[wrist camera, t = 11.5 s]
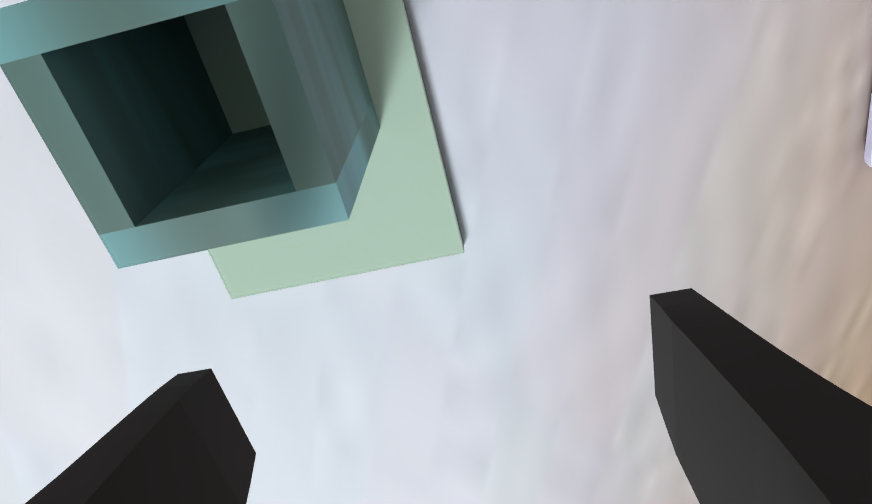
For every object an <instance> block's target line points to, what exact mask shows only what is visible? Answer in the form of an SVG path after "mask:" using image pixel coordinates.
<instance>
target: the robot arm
mask: <svg viewBox="0 0 872 504" xmlns="http://www.w3.org/2000/svg"><path fill="white" fill-rule="evenodd" d="M864 158H865V162H866V163H867V164H868V166H870V167H872V95H871V103H870V112H869V120H868V128H867V136H866V145H865V153H864ZM650 309H651V326H652V344H653V362H654V379H655V395H656V398H657V401H658V404H659V407H660V410H661V413H662V416H663V419H664V422H665V425H666V428H667V430H668V433H669V436H670V439H671V441H672V444H673V447H674V450H675V453H676V455H677V457H678V459H679V462H680V464H681V466H682V468H683V470H684V472H685V474H686V476H687V478H688V480H689V482H690V484H691V486H692V489H693V491H694V493H695V495H696V497H697V499H698V501H699V503H700V504H872V406H870V405H868V404H866V403H865V402H863V401H861V400H860V399H858V398H856V397H854V396H853V395H851V394H849V393H848V392H846V391H844V390H842V389H841V388H839V387H837V386H836V385H834V384H833V383H831V382H829V381H828V380H826V379H824V378H823V377H821V376H820V375H818V374H816V373H815V372H813V371H812V370H810V369H809V368H807V367H805V366H804V365H802V364H801V363H799V362H798V361H796V360H795V359H793V358H792V357H790V356H789V355H787V354H785V353H784V352H782V351H781V350H779V349H778V348H776V347H775V346H773V345H772V344H770V343H769V342H768V341H766V340H765V339H763V338H762V337H760V336H759V335H757V334H756V333H754V332H753V331H752V330H750V329H749V328H747V327H746V326H744V325H743V324H741V323H740V322H739V321H737V320H736V319H734V318H733V317H732V316H730V315H729V314H727V313H726V312H724V311H723V310H722V309H720V308H719V307H717V306H716V305H714V304H713V303H712V302H710V301H709V300H707V299H706V298H705V297H703V296H702V295H700V294H699V293H697V292H696V291H694V290H693V289H692V288H690V289H684V290H678V291H672V292H666V293H660V294H654V295H650ZM255 456H256V452H255V451H254V449H253V447H252V445H251V443H250V441H249V439H248V437H247V435H246V434H245V432H244V430H243V428H242V426H241V424H240V422H239V420H238V418H237V417H236V415H235V413H234V411H233V409H232V407H231V405H230V403H229V401H228V400H227V398H226V396H225V394H224V392H223V390H222V388H221V386H220V384H219V383H218V381H217V379H216V377H215V375H214V373H213V371H212V369H206V370H200V371H194V372H188V373H182V374H177V375H176V376H175V377H173V378H172V379H171V380H169V381H168V382H167V383H165V384H164V385H163V386H162V387H160V388H159V389H158V390H157V391H155V392H154V393H153V394H152V395H151V396H149V397H148V398H147V399H146V400H145V401H143V402H142V403H141V404H140V405H139V406H138V407H136V408H135V409H134V410H133V411H132V412H131V413H130V414H128V415H127V416H126V417H125V418H124V419H123V420H122V421H120V422H119V423H118V424H117V425H116V426H115V427H114V428H112V429H111V430H110V431H109V432H108V433H107V434H106V435H104V436H103V437H102V438H101V439H100V440H99V441H98V442H96V443H95V444H94V445H93V446H92V447H91V448H90V449H89V450H87V451H86V452H85V453H84V454H83V455H82V456H81V457H79V458H78V459H77V460H76V461H75V462H74V463H73V464H71V465H70V466H69V467H68V468H67V469H66V470H65V471H63V472H62V473H61V474H60V475H59V476H58V477H56V478H55V479H54V480H53V481H52V482H50V483H49V484H48V485H47V486H46V487H44V488H43V489H42V490H41V491H40V492H38V493H37V494H36V495H35V496H34V497H32V498H31V499H30V500H29V501H28V502H26V503H25V504H246V502H247V497H248V493H249V488H250V483H251V478H252V472H253V467H254V461H255Z"/></svg>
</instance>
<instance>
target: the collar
mask: <svg viewBox="0 0 872 504" xmlns="http://www.w3.org/2000/svg"><path fill="white" fill-rule="evenodd" d="M224 4H225V7H226V10H227V12H228V15H229V17H230V20H231V23H232V25H233V28H234V30H235V33H236V36H237V38H238V41H239V43H240V46H241V49H242V51H243V54H244V57H245V59H246V62H247V64H248V67H249V70H250V72H251V75H252V77H253V80H254V83H255V85H256V88H257V90H258V93H259V96H260V98H261V101H262V103H263V106H264V109H265V111H266V114H267V117H268V119H269V122H270V124H271V125H268V126H263V127H259V128H255V129H251V130H247V131H242V132H238V133H234V134H233V133H232V131H231V128H230V126H229V124H228V121H227V119H226V116H225V114H224V112H223V109H222V107H221V104H220V102H219V100H218V97H217V95H216V93H215V90H214V88H213V85H212V83H211V81H210V78H209V76H208V73H207V71H206V69H205V66H204V64H203V61H202V59H201V57H200V54H199V52H198V50H197V47H196V45H195V42H194V40H193V38H192V35H191V33H190V30H189V28H188V26H187V23H186V21H185V18H184V16H183V15H186V14H190V13H194V12H198V11H201V10H205V9H209V8H212V7H216V6H220V5H224ZM0 67H1V68H2V70H3V72H4V74H5V75H6V77H7V79H8V80H9V82H10V84H11V86H12V87H13V89H14V91H15V92H16V94H17V96H18V98H19V99H20V101H21V103H22V104H23V106H24V108H25V110H26V111H27V113H28V115H29V116H30V118H31V120H32V122H33V123H34V125H35V127H36V128H37V130H38V132H39V134H40V135H41V137H42V139H43V140H44V142H45V144H46V146H47V147H48V149H49V151H50V152H51V154H52V156H53V158H54V159H55V161H56V163H57V164H58V166H59V168H60V170H61V171H62V173H63V175H64V176H65V178H66V180H67V182H68V183H69V185H70V187H71V188H72V190H73V192H74V194H75V195H76V197H77V199H78V200H79V202H80V204H81V206H82V207H83V209H84V211H85V212H86V214H87V216H88V218H89V219H90V221H91V223H92V224H93V226H94V228H95V230H96V231H97V233H98V235H99V236H100V238H101V240H102V242H103V243H104V245H105V247H106V248H107V250H108V252H109V254H110V255H111V257H112V259H113V260H114V262H115V264H116V266H117V267H118V269H119V268H124V267H128V266H133V265H138V264H143V263H147V262H152V261H157V260H162V259H166V258H171V257H176V256H180V255H185V254H190V253H195V252H199V251H204V250H209V249H214V248H218V247H223V246H228V245H233V244H237V243H242V242H247V241H251V240H256V239H261V238H266V237H270V236H275V235H280V234H285V233H289V232H294V231H299V230H303V229H308V228H313V227H318V226H322V225H327V224H332V223H337V222H341V221H346V220H349V218H350V215H351V212H352V209H353V206H354V203H355V200H356V198H357V195H358V192H359V189H360V186H361V183H362V180H363V177H364V174H365V171H366V168H367V165H368V162H369V159H370V156H371V153H372V150H373V148H374V145H375V142H376V139H377V136H378V133H379V130H380V126H379V122H378V119H377V115H376V112H375V108H374V105H373V102H372V98H371V95H370V91H369V88H368V84H367V81H366V77H365V74H364V71H363V67H362V64H361V60H360V57H359V53H358V50H357V47H356V43H355V40H354V36H353V33H352V29H351V26H350V23H349V19H348V16H347V12H346V9H345V5H344V2H343V0H28V1H24V2H21V3H17V4H14V5H10V6H7V7H3V8H0Z"/></svg>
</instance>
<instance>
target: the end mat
mask: <svg viewBox="0 0 872 504" xmlns="http://www.w3.org/2000/svg"><path fill="white" fill-rule="evenodd" d="M343 2H344V5H345V9H346V12H347V16H348V19H349V23H350V26H351V29H352V33H353V36H354V40H355V43H356V47H357V50H358V53H359V57H360V60H361V64H362V67H363V71H364V74H365V77H366V81H367V84H368V88H369V91H370V95H371V98H372V102H373V105H374V108H375V112H376V115H377V119H378V122H379V126H380V130H379V133H378V136H377V139H376V142H375V145H374V148H373V150H372V153H371V156H370V159H369V162H368V165H367V168H366V171H365V174H364V177H363V180H362V183H361V186H360V189H359V192H358V195H357V198H356V200H355V203H354V206H353V209H352V212H351V215H350V218H349V220H346V221H341V222H337V223H332V224H327V225H322V226H318V227H313V228H308V229H303V230H299V231H294V232H289V233H285V234H280V235H275V236H270V237H266V238H261V239H256V240H251V241H247V242H242V243H237V244H233V245H228V246H223V247H218V248H214V249H209V250H208V252H209V254H210V256H211V258H212V260H213V262H214V264H215V266H216V268H217V270H218V272H219V274H220V276H221V278H222V280H223V283H224V285H225V287H226V289H227V291H228V293H229V295H230V297H231V299H234V298H240V297H245V296H250V295H255V294H260V293H265V292H270V291H275V290H280V289H285V288H290V287H295V286H300V285H305V284H310V283H315V282H320V281H325V280H330V279H335V278H340V277H345V276H350V275H355V274H360V273H365V272H370V271H375V270H380V269H385V268H390V267H395V266H400V265H405V264H410V263H415V262H420V261H425V260H430V259H435V258H440V257H445V256H450V255H456V254H461V253H464V246H463V242H462V238H461V234H460V230H459V226H458V222H457V217H456V213H455V209H454V205H453V201H452V197H451V193H450V189H449V185H448V181H447V177H446V173H445V169H444V165H443V161H442V156H441V152H440V148H439V144H438V140H437V136H436V132H435V128H434V124H433V120H432V116H431V112H430V108H429V104H428V100H427V96H426V91H425V87H424V83H423V79H422V75H421V71H420V67H419V63H418V59H417V55H416V51H415V47H414V43H413V39H412V35H411V31H410V26H409V22H408V18H407V14H406V10H405V6H404V2H403V0H343ZM183 16H184V18H185V21H186V23H187V26H188V28H189V30H190V33H191V35H192V38H193V40H194V42H195V45H196V47H197V50H198V52H199V54H200V57H201V59H202V61H203V64H204V66H205V69H206V71H207V73H208V76H209V78H210V81H211V83H212V85H213V88H214V90H215V93H216V95H217V97H218V100H219V102H220V104H221V107H222V109H223V112H224V114H225V116H226V119H227V121H228V124H229V126H230V128H231V131H232V133H233V134H234V133H238V132H242V131H247V130H251V129H255V128H259V127H263V126H268V125H271V124H270V122H269V119H268V117H267V114H266V111H265V109H264V106H263V103H262V101H261V98H260V96H259V93H258V90H257V88H256V85H255V83H254V80H253V77H252V75H251V72H250V70H249V67H248V64H247V62H246V59H245V57H244V54H243V51H242V49H241V46H240V43H239V41H238V38H237V36H236V33H235V30H234V28H233V25H232V23H231V20H230V17H229V15H228V12H227V10H226V7H225V4H224V5H220V6H216V7H212V8H209V9H205V10H201V11H198V12H194V13H190V14H186V15H183Z"/></svg>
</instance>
